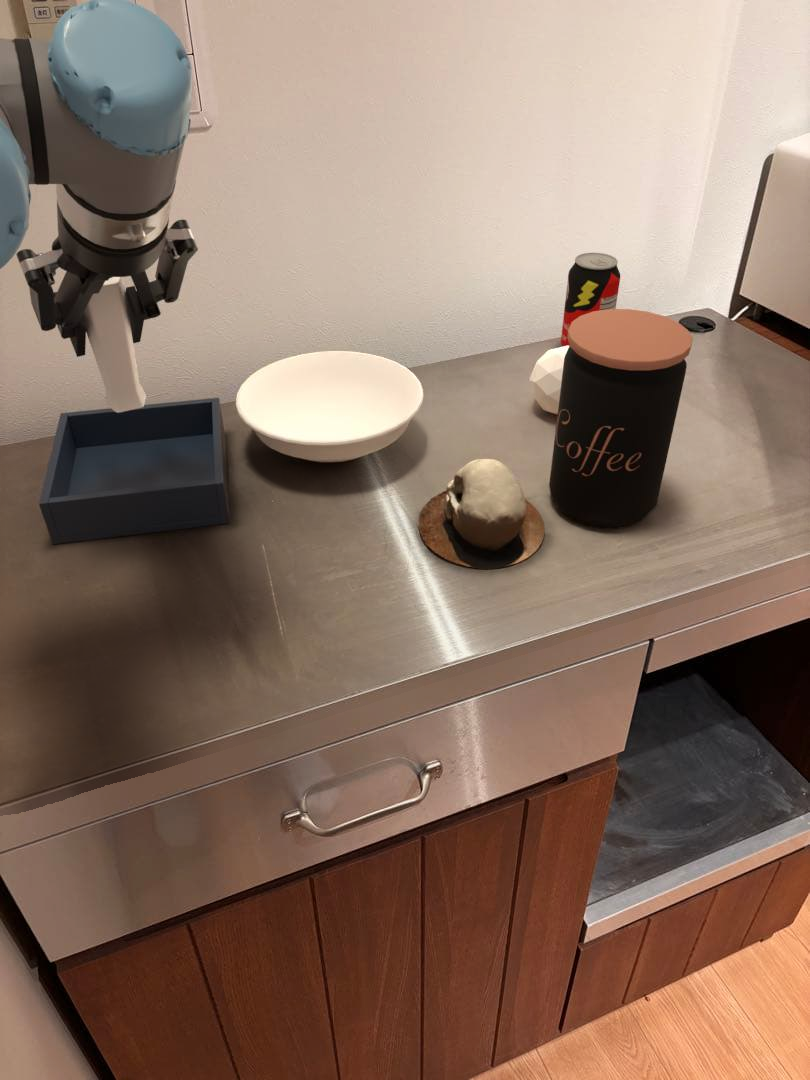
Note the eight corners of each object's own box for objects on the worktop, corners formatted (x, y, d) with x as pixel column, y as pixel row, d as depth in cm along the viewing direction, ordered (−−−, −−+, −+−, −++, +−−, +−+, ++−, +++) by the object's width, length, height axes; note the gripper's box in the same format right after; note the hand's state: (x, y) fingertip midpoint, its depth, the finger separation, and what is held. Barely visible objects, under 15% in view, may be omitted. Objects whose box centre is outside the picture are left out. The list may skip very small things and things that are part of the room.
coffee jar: (526, 500, 86) (542, 333, 74) (590, 459, 91) (615, 298, 80) (614, 548, 80) (647, 374, 68) (677, 501, 85) (717, 333, 74)
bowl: (223, 420, 98) (215, 370, 94) (383, 386, 104) (381, 338, 100) (272, 515, 84) (264, 460, 80) (453, 469, 90) (455, 417, 86)
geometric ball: (540, 428, 102) (509, 369, 100) (597, 394, 102) (567, 335, 100) (562, 430, 94) (528, 366, 93) (623, 393, 95) (591, 329, 93)
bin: (52, 544, 81) (38, 503, 78) (71, 451, 93) (60, 413, 90) (230, 523, 83) (223, 482, 80) (225, 435, 96) (219, 397, 93)
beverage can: (587, 336, 115) (599, 247, 107) (618, 354, 111) (633, 263, 103) (550, 346, 112) (559, 256, 105) (580, 365, 108) (592, 273, 101)
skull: (394, 494, 85) (463, 417, 81) (466, 538, 90) (533, 468, 87) (426, 567, 75) (505, 483, 72) (504, 611, 81) (580, 535, 78)
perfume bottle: (161, 402, 82) (127, 245, 72) (119, 418, 79) (79, 259, 70) (137, 385, 84) (101, 232, 75) (96, 401, 82) (54, 245, 73)
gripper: (2, 279, 56) (22, 396, 78) (250, 230, 63) (206, 350, 85) (-38, 175, 56) (-7, 320, 78) (214, 137, 63) (178, 280, 85)
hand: (104, 336), depth 81 cm, fingers closed on perfume bottle, 5 cm apart
